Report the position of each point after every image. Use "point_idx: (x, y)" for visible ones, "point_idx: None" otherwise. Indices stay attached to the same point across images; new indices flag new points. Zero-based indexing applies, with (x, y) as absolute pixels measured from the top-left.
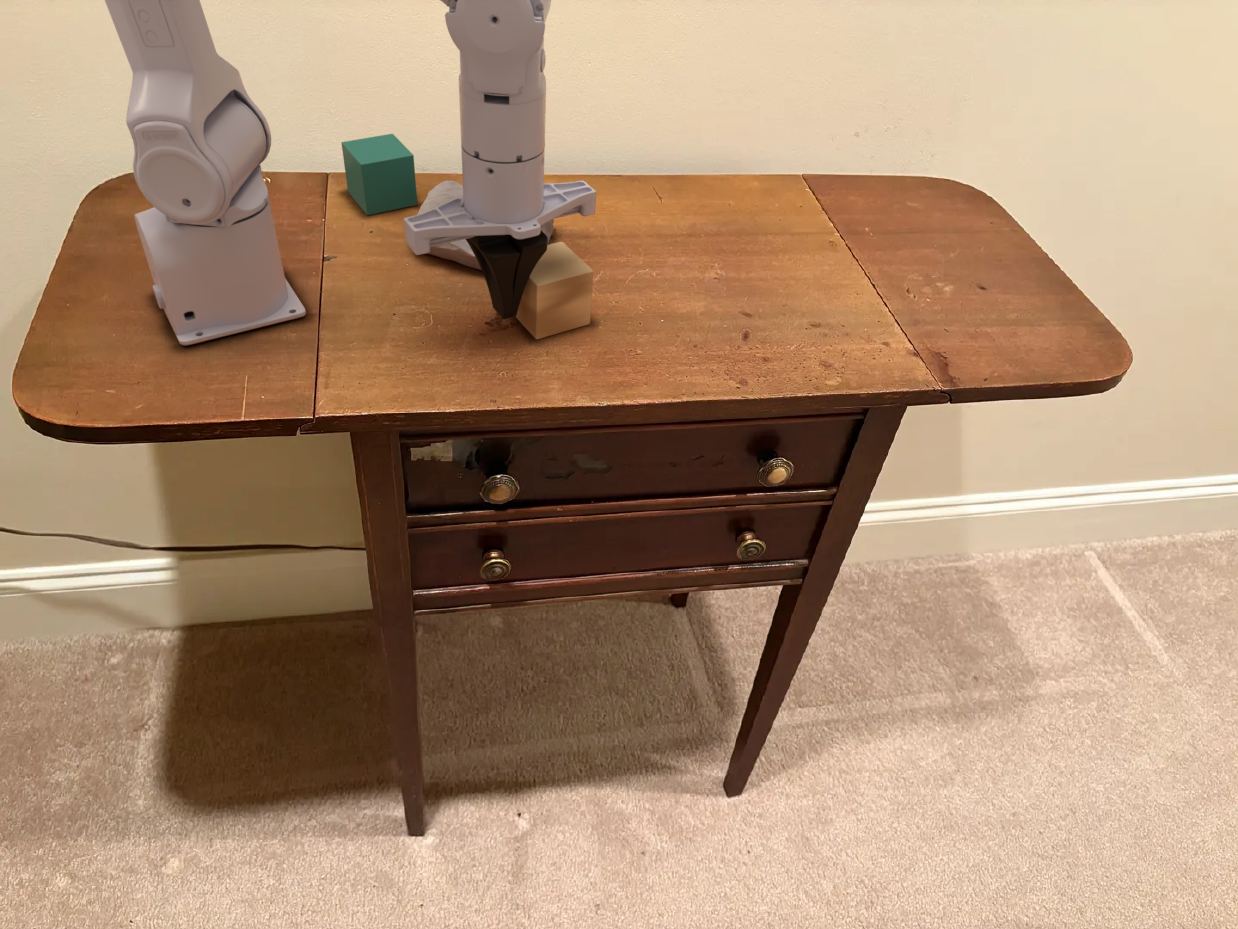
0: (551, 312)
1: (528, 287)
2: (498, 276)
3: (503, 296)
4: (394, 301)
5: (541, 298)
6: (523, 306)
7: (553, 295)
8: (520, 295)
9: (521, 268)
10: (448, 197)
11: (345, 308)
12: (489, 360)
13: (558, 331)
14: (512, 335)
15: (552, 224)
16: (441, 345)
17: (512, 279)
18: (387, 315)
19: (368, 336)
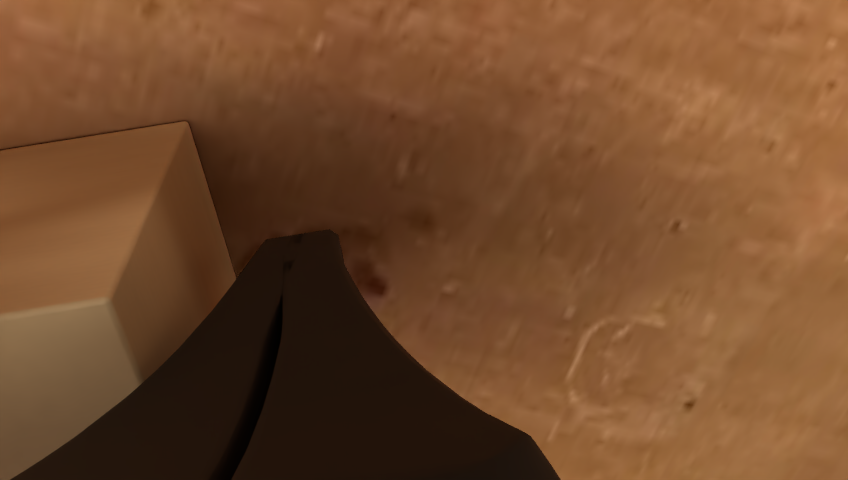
0: (62, 194)
1: (166, 344)
2: (411, 369)
3: (350, 289)
4: (654, 467)
5: (101, 243)
6: (208, 295)
7: (12, 257)
8: (232, 296)
9: (205, 418)
10: None
11: (817, 461)
12: (459, 29)
13: (56, 143)
14: (292, 183)
15: None
16: (614, 194)
17: (287, 359)
18: (713, 405)
19: (834, 311)
